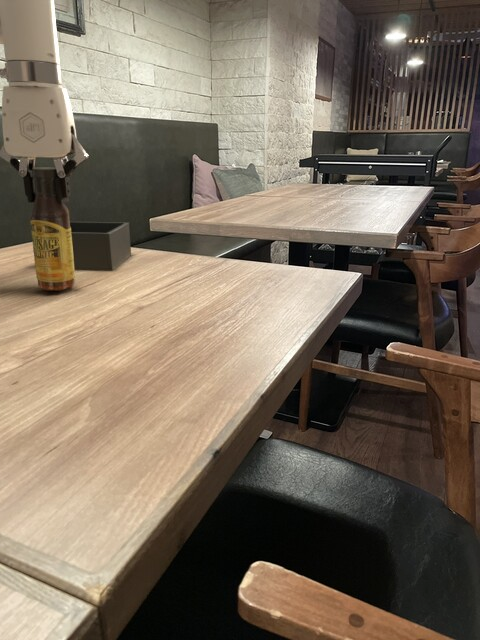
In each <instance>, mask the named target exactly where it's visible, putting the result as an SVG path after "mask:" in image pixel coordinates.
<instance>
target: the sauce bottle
mask: <svg viewBox="0 0 480 640" xmlns="http://www.w3.org/2000/svg"><path fill="white" fill-rule="evenodd" d="M32 176H33V178H34V181H35V191H36V193H35V201H34V202H33V206H32V211H31V218H30V220H29V221H30V230H31V240H32V251H33V258H34V266H35V274H36V280H37V284H38V287H39V288H40V289H41V290H43V291H55V292H56V291H59V292H60V291H63V290H67V289H69V288H72V287H73V286H74V285H75V283H76V281H75V280H76V279H75V278H76V270H74V257H73V246H72V234H71V227H70V222H71V219H70V210H69V209H68V207H67V205H66V204H65V203H58V202H57V197H56V188H55V178H57V171H56V167H45V166H42V167H39V166H38V167H35V168H33V169H32Z"/></svg>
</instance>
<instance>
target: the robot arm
mask: <svg viewBox="0 0 480 640" xmlns="http://www.w3.org/2000/svg"><path fill="white" fill-rule="evenodd" d="M57 29H58V28H57V19H56V9H55V0H0V45H3V50H4V59H5V63H4V68H0V78H1V79H5V80H6V82H7V83H8V85H3V87H2V95H1V96H2V97H1V121H2V123H1V125H2V136H3V144H2V145H1V148H0V158H1V159H3V160H4V161H6V162H7V163H9V164H10V165H11V166H12V167H13V168H14V169H15V170H16V171H17V172H18V174H19V176H20V177H22V179H23V186H24V187H23V188H24V194H25V196H26V198H27V202H28V203H34V201H35V193H36V191H35V181H34V178H33V176H32V169H33V168H36V158H52V160H53V165H54V168H56V171H57V178H55V188H56V197H57V202H58V203H64V204H65V203H68V202H69V201H70V197H71V185H70V177H71V176H72V174H73V172H74V171H76V169H77V168H78V167H79V166H80V165H82V164H83V163H84V162H85V161H87V160H88V159H89V154H88V152H87V151H86V150H85V149H84V147H83V146H82V144H81V143H80V141H79V140H78V137H77V130H76V124H75V117H74V113H73V108H72V104H71V101H70V97H69V93H68V91H67V88H63V81H62V71H61V63H60V62H61V61H60V60H61V59H60V50H59V40H58V31H57ZM68 157H72V158H71V159H69V158H68Z"/></svg>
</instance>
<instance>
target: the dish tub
mask: <svg viewBox="0 0 480 640" xmlns="http://www.w3.org/2000/svg"><path fill="white" fill-rule="evenodd" d="M70 227H71V234H72V246H73V257H74V270H75V271H97V272H98V271H100V272H101V271H103V272H113V271H114V270H115V269H117V268H118V267H119V266H120V265H122V264H123V263H124V262H126V261H127V260H128V259H129V258H130V257H132V249H131V248H132V247H131V233H130V231H131V230H130V222H124V221H123V222H121V221H119V222H117V221H115V222H114V221H70Z"/></svg>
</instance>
